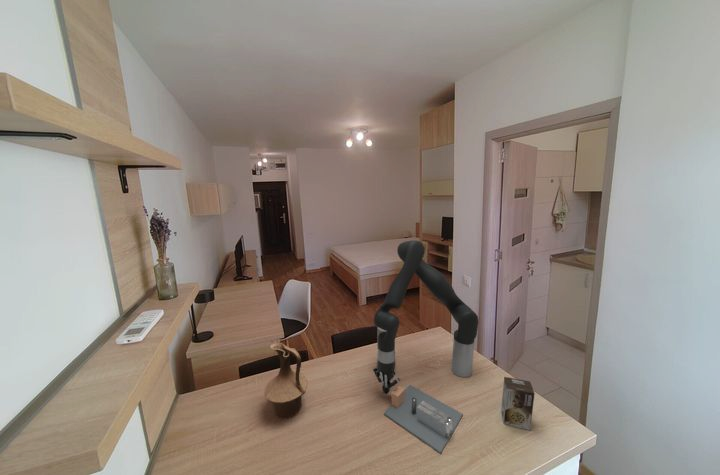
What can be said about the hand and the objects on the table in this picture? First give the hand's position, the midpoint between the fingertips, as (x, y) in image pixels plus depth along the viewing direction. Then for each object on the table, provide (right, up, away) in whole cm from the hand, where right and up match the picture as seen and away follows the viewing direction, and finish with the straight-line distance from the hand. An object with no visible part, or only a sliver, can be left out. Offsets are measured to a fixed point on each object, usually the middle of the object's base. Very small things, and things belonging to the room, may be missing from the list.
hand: (386, 392), depth 114 cm
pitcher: (-41, -4, -5) cm, 41 cm away
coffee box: (+49, -4, -12) cm, 50 cm away
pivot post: (+10, -4, -9) cm, 14 cm away
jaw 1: (+18, -4, -14) cm, 23 cm away
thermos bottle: (+1, +2, +19) cm, 19 cm away
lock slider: (+5, -2, -4) cm, 6 cm away
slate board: (+14, -4, -9) cm, 17 cm away
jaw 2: (+16, -4, -15) cm, 23 cm away
